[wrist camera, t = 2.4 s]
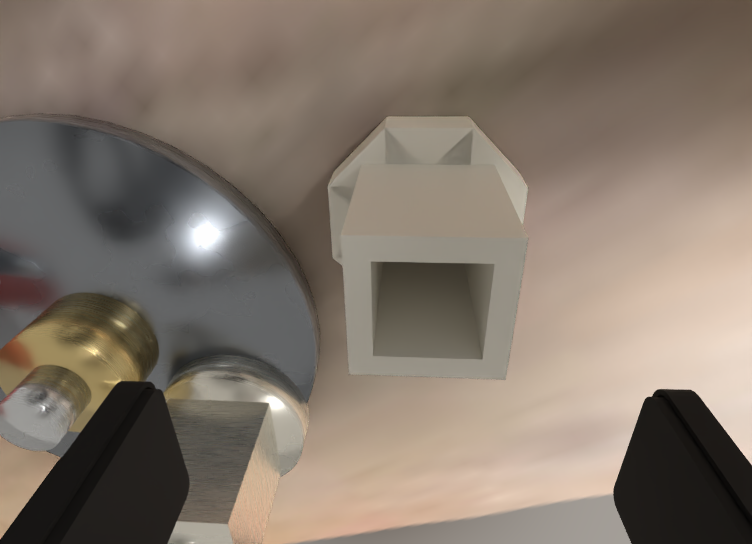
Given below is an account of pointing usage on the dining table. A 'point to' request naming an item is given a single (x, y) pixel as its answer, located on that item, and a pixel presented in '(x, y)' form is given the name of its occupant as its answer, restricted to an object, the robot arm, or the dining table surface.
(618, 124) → the dining table surface
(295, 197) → the dining table surface
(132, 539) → the robot arm
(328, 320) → the dining table surface
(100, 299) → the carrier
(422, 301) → the open ended square duct
